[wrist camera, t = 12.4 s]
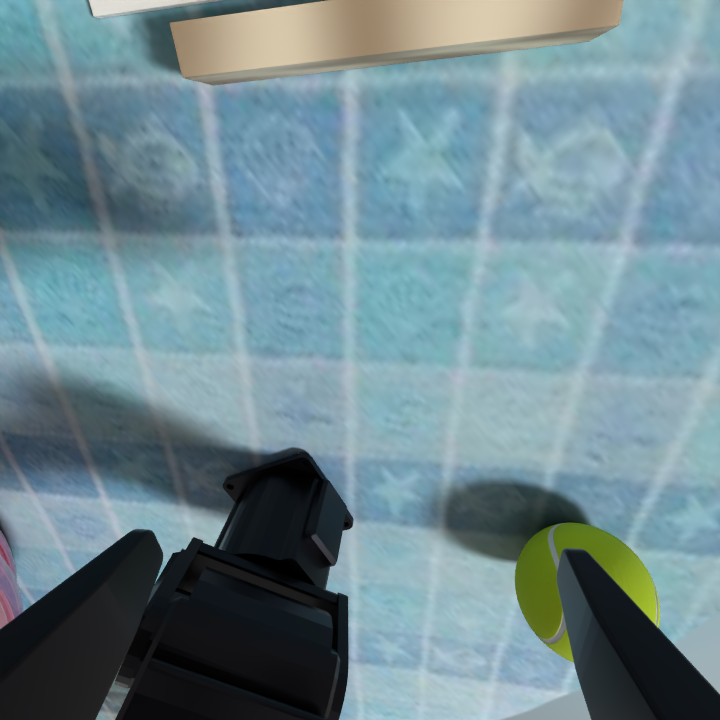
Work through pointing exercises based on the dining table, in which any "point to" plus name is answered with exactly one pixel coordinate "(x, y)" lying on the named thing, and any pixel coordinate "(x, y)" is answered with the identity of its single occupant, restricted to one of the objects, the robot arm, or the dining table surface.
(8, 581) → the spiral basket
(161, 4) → the pad
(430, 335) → the dining table surface
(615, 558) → the tennis ball
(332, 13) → the channel
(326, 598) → the robot arm
